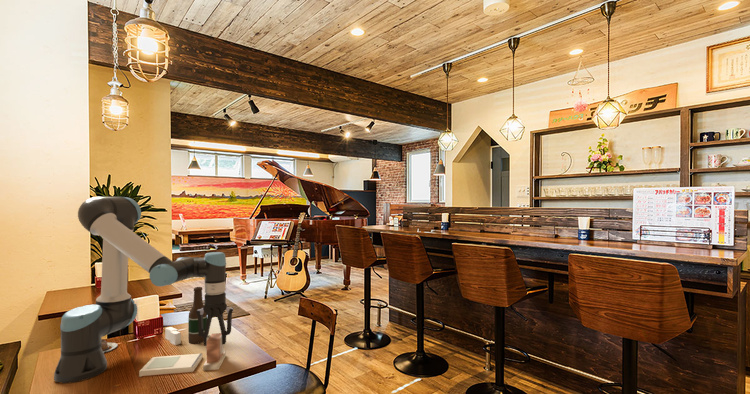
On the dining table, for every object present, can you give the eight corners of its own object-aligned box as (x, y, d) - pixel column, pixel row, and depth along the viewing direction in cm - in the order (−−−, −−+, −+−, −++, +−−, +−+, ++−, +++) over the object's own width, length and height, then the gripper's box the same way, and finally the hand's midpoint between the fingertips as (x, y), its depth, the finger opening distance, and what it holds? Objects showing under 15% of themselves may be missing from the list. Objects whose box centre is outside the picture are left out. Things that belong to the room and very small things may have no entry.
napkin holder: (162, 338, 169) (162, 325, 169) (189, 335, 172) (189, 323, 173) (152, 350, 155) (152, 337, 155) (182, 347, 158) (182, 334, 158)
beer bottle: (210, 337, 168) (210, 285, 168) (201, 344, 160) (201, 289, 160) (194, 337, 169) (194, 285, 169) (184, 343, 161) (184, 289, 161)
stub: (203, 370, 135) (203, 343, 135) (211, 356, 147) (211, 332, 147) (218, 369, 136) (218, 342, 136) (225, 355, 148) (225, 331, 148)
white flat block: (139, 376, 131) (139, 370, 131) (152, 362, 143) (152, 356, 143) (193, 372, 134) (193, 366, 134) (202, 358, 146) (202, 353, 146)
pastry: (76, 358, 148) (76, 346, 148) (90, 346, 159) (90, 336, 159) (111, 354, 151) (111, 343, 151) (122, 343, 163) (122, 333, 163)
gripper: (188, 296, 136) (188, 359, 136) (236, 294, 140) (236, 355, 139) (194, 291, 144) (194, 350, 144) (240, 289, 147) (239, 347, 147)
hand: (214, 352), depth 142 cm, fingers closed on stub, 4 cm apart
